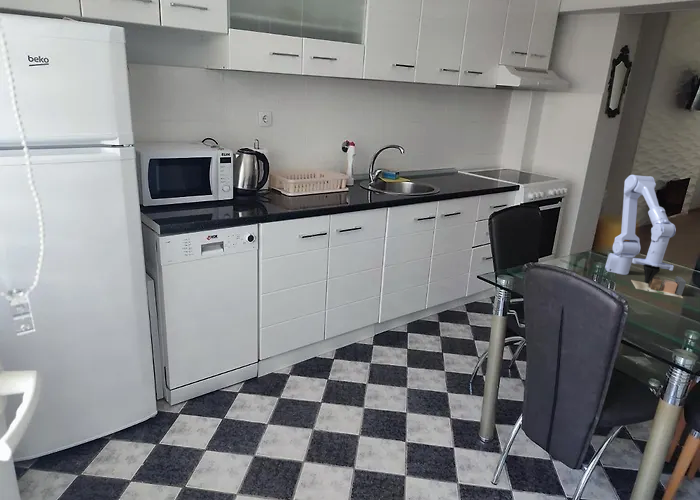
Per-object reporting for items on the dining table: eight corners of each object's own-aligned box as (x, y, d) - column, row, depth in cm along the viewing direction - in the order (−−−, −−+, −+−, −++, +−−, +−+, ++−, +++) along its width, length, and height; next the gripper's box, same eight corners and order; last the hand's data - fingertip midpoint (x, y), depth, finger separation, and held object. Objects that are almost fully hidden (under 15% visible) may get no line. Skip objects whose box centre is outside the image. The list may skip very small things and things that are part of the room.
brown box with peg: (651, 289, 199) (654, 280, 198) (648, 284, 204) (650, 275, 203) (659, 291, 198) (662, 282, 197) (655, 286, 204) (658, 277, 202)
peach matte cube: (663, 291, 199) (666, 282, 198) (660, 288, 203) (663, 279, 201) (674, 293, 198) (677, 284, 197) (671, 290, 202) (674, 281, 200)
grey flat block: (675, 296, 197) (680, 280, 195) (671, 291, 203) (676, 276, 201) (680, 297, 197) (686, 281, 195) (676, 292, 202) (681, 277, 200)
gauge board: (635, 290, 199) (636, 288, 199) (630, 282, 209) (631, 279, 209) (682, 300, 194) (683, 297, 194) (674, 290, 204) (675, 288, 204)
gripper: (638, 250, 196) (629, 282, 200) (679, 258, 192) (668, 289, 196) (635, 246, 203) (626, 276, 207) (674, 253, 199) (664, 284, 203)
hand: (646, 282), depth 202 cm, fingers closed
